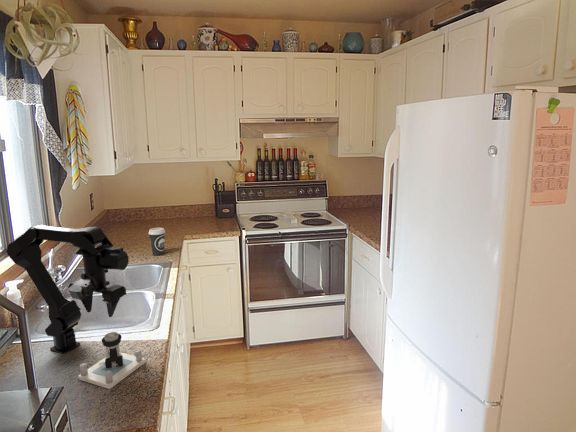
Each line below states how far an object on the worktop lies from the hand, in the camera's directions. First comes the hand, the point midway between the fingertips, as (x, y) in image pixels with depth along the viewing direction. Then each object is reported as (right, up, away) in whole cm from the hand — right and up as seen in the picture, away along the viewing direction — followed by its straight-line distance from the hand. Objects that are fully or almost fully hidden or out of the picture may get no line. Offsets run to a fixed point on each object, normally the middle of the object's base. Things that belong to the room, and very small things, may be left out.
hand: (99, 314), depth 126 cm
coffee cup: (-15, +9, +104) cm, 106 cm away
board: (+8, -15, -8) cm, 18 cm away
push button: (+7, -14, -8) cm, 17 cm away
